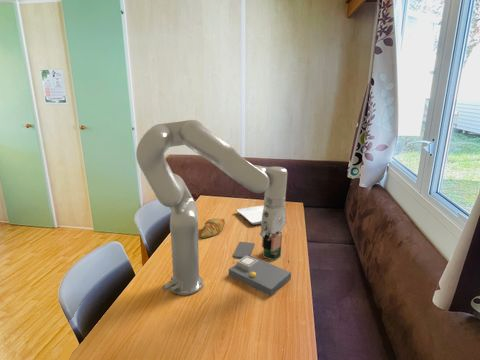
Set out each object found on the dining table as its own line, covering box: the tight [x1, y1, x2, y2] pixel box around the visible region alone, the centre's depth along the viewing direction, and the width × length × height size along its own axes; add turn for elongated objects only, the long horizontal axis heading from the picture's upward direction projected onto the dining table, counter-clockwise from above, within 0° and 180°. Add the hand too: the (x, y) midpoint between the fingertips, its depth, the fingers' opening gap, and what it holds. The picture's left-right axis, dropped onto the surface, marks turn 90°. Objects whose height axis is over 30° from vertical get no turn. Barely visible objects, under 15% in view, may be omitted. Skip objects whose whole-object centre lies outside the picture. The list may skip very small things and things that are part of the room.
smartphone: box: [232, 241, 256, 259], centre depth 143 cm, size 8×1×15 cm
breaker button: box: [241, 257, 255, 266], centre depth 125 cm, size 4×4×2 cm
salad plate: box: [236, 204, 264, 225], centre depth 180 cm, size 21×21×3 cm
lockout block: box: [261, 233, 282, 251], centre depth 117 cm, size 5×5×5 cm
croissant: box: [200, 218, 226, 239], centre depth 161 cm, size 21×10×8 cm, turn 154°
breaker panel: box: [228, 254, 292, 297], centre depth 122 cm, size 14×20×5 cm
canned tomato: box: [263, 230, 283, 260], centre depth 138 cm, size 8×8×11 cm
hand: (271, 245), depth 118 cm, fingers closed on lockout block, 4 cm apart
